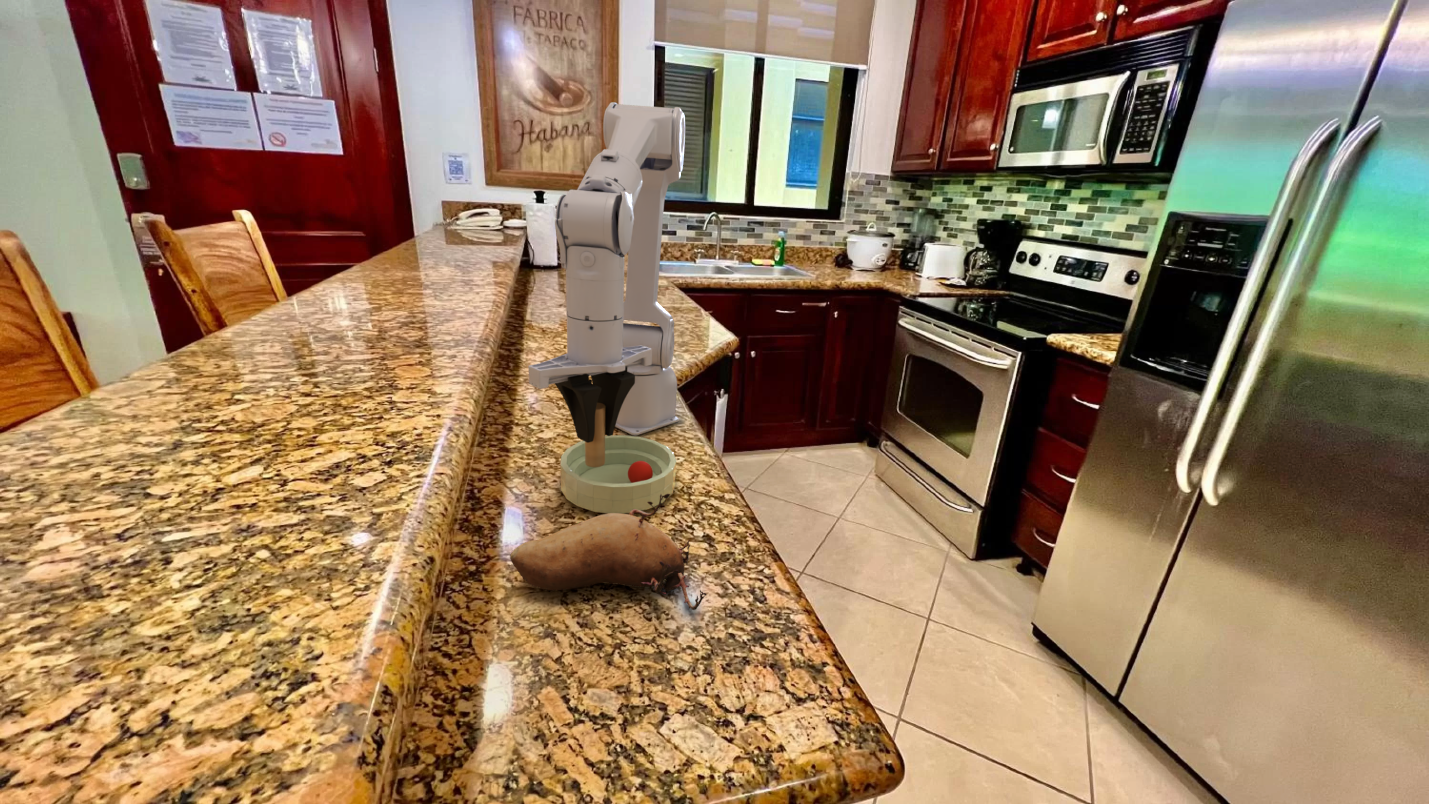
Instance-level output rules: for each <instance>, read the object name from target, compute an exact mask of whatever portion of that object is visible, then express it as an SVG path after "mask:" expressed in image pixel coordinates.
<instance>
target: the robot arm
mask: <svg viewBox="0 0 1429 804" xmlns="http://www.w3.org/2000/svg"><path fill="white" fill-rule="evenodd" d="M602 123H603V125H602V128H603V142H604V145H605V148H604V149H602V151H601V152H599V153H598V154H596V156H594V158H593V159H592V161H591V163H590V165H589V166H588V168H587V170H586V172H585V174H584V176H583V178H582V179H581V181H580V183H579V185H578V187H577V189H569V190H568V191H567V193H566V194H561V195H560V196H559V198H558V200H557V204H556V207H555V219H554V229H555V235H556V240H557V243H558V246H559V253H560V254H559V255H560V256H559V257H560V259H559V261H560V264H561V268H562V269H564V270H565V299H566V300H565V301H566V303H565V306H566V307H565V308H566V309H565V311H566V353H565V354H561V355H558V356H556V357H553V358H550V359H548V360H545V361H542V362H538V363H534V364H529V365H528V368H527V369H528V384H529V385H531V386H532V387H535V388H537V389H539V390H543V389H547V388H549V387H550V385H553V384H554V385H555V387H556V388H557V389H558V391H559V392H560V394H561V395H562V398H563V400H564V402H565V404H566V406H567V408H568V410H569V413H570V416H571V420H572V422H573V426H574V430H575V434H576V437H577V438H578V439H580V440H581V441H585V442H587V443H589V442H592V441H593V439H594V434H595V412H596V406H597V403H602V404H604V405H605V436H611V435H614V432H615V428H616V429H619V430H621V431H623V432H624V433H628V434H629V435H630V436H636V437H637V436H639V435H642V434H645V433H649V432H651V431H654V430H657V429H659V428H663V427H666V426H669V425H672V424H675V423H677V422H679V421H680V418H679V417H677V416H676V414H677V413H676V411H677V394H678V379H677V376H676V373H675V371H674V369H673V368H672V367H671V365H672V363H673V358H674V351H675V321H674V318H673V316H672V314H670V313H669V312H668V311H667V310H666V309H665V308H664V307H663V306H662V305H661V304H659V303H658V293H659V281H660V280H659V279H660V268H661V267H660V264H661V252H662V251H661V250H662V237H663V225H664V224H663V223H664V210H665V200H666V195H667V192H668V188H669V185H670V184H673V183H674V182H676V181H678V180H680V179H681V173H682V172H683V167H684V166H683V165H684V154H685V142H686V117H685V113H684V112H683V111H682V108H681V107H678V106H675V107H664V106H663V107H661V106H649V105H637V104H636V105H635V104H623V103H622V104H621V103H617V102H614V101H613V102H610V103H609V104H608V106H607V107H606V108H605V111H604V116H603V122H602ZM626 255H627V265H626V266H627V268H626V282H625V256H626ZM625 284H626V285H625ZM624 298H625V299H624ZM624 300H625V301H624ZM624 321H628V322H640V323H650V324H651V323H652V324H656V325H650V324H649V325H648V324H637V323H628V322H627V323H626V322H624ZM590 378H591V379H590Z"/></svg>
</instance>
